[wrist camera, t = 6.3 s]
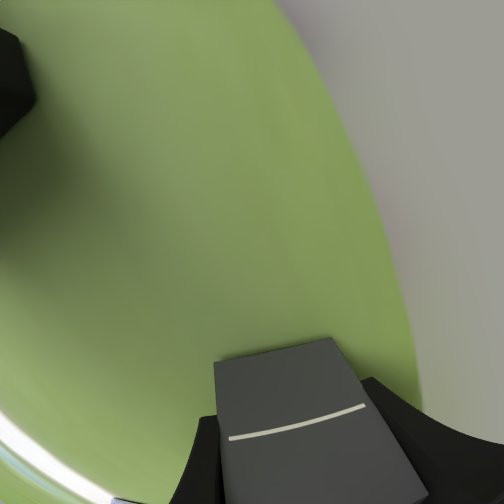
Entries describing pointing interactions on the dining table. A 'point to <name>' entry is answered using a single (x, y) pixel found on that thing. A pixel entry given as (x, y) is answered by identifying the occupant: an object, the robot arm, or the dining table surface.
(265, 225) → the dining table surface
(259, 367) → the domino
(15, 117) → the battery
